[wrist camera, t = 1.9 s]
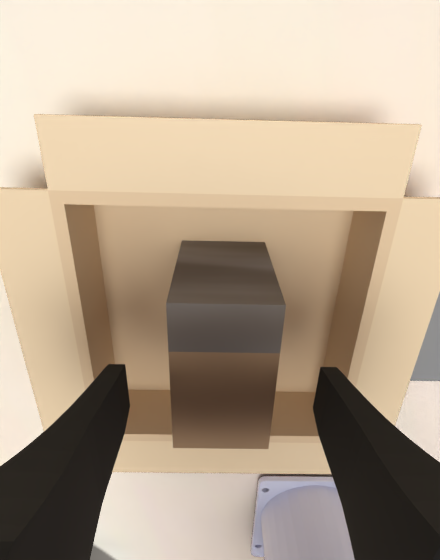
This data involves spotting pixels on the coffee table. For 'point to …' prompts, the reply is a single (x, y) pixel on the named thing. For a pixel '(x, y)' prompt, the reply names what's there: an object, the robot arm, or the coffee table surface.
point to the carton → (219, 227)
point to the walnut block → (223, 344)
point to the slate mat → (429, 350)
